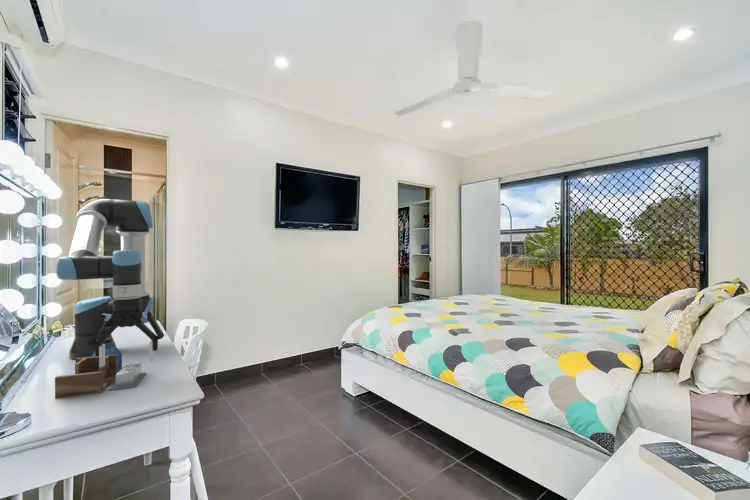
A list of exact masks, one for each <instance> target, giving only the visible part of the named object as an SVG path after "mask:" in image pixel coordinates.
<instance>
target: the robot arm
mask: <svg viewBox="0 0 750 500" xmlns="http://www.w3.org/2000/svg"><path fill="white" fill-rule="evenodd" d="M74 221H75V225H76V229H75V231H74V235H73V239H72V242H71V246H70V250H69V252H68V253H69V254H68V255H66V256H60V257H58V258H57V260H56V265H55V267H56V268H55V271H56V277H57V278H58V279H59V280H61V281H62V280H63V281H69V280H70V281H71V280H73V281H76V280H77V281H78V280H80V281H81V280H98V279H99V280H100V279H102V280H103V279H112V298H114V299H112V298H111V296H109V295H108V296H98V297H93V298H87V299H83V300H80V301H78V302H77V303H76V304H75V305H74V313H73V315H74V340H73V342H72V344H71V347H70V349H69V353H68V358H69V360H76V359H77V358H84V357H91V356H92V355H93V353H94V352H95V355H96V356H99V367H103V366H104V365H105V344H103V345H102V343H103V342H104V341H105V340H106V339H107V338H112V340H111V341H112V342H113V344H112V345H111V347H117V345H116V342H115V340H114V337H113V335H112V333H113V332H114V331H115V330H116V329H117V328H118V327H120V328H126V327H128V328H129V327H130V328H131V327H134V326H135V327H136V328H138V329H139V330H140V331H141V332H143V334H145V335H146V336H147V337H148V339H150V341H149V363H152V362H154V361H155V351H158V348H159V340H161V339H163V338H164V337H165V334H164V332H163V330H162V328H161V327H160V325H159V324H158V322H157V320H156V319H155V318H154V311H153V304H154V297H153V296H150V292H149V291H147V289H146V236H147V235H148V234H149V233H150V230H151V229H153V228H154V225H153V218H152V213H151V206H150V204H149V203H148V202H146V201H140V200H129V199H127V200H126V199H112V198H103V199H102V198H101V199H96V200H94V201H91V202H89V203H87V204H86V205H84V206H83V207H82V208H81V209H80V210H78V212H77V213H76V216H75V220H74ZM105 228H115V232H116V233H117V234H118V235H119V236H120V250H114V251H113V252H112V256H111V255H104V256H103V255H102V256H99V252H100V245H101V240H102V235H103V230H104V229H105ZM147 323H149V324H150V326H151V328H152V329H153V330H154V332H155V333H154V332H153V331H152V330H151V329H150V328H149V327H148V326H147V325H146V324H147Z"/></svg>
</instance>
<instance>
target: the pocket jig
mask: <svg viewBox="0 0 750 500" xmlns="http://www.w3.org/2000/svg"><path fill="white" fill-rule="evenodd" d="M117 373H118V354H115V355H105V365H104V366H103V367H99V356H95V357H84V358H77V359H75V364H74V373H73V374H65V375H57V376H56V377H54V399H60V398H61V399H62V398H67V397H76V396H77V397H78V396H85V395H92V394H100V393H103V392H104V391H105V390H106V389H107V387H109V386H110V385H111V384H112V382H113V381H115V380H116V374H117Z"/></svg>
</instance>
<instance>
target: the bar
mask: <svg viewBox="0 0 750 500" xmlns="http://www.w3.org/2000/svg"><path fill="white" fill-rule="evenodd" d="M142 366H143V365H142V363H133V364H132V363H131V364H125V365H124V366H122V369H121V370H120V371H119V372H118V373H117V374H116V378H115V382H116V386H120V385H127V384H133V383H134V382H135V381H136V380H137V378H138V377H139V376H140V375H141V373H143V371H142Z"/></svg>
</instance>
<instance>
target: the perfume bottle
mask: <svg viewBox="0 0 750 500" xmlns="http://www.w3.org/2000/svg"><path fill="white" fill-rule="evenodd" d="M111 340H112V338H107V339H106V340H105V341H104V342H103V343H102V345H103V344H105V355H115V354H118V372H119V371H120V370H121V369H122V368H123V353H122V351H120V349H118V347H117V346H116V347H111V345H112V344H113V342H112V341H111ZM95 356H96V355H95V352H94V353H93V355H92V356H91V357H95Z"/></svg>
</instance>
